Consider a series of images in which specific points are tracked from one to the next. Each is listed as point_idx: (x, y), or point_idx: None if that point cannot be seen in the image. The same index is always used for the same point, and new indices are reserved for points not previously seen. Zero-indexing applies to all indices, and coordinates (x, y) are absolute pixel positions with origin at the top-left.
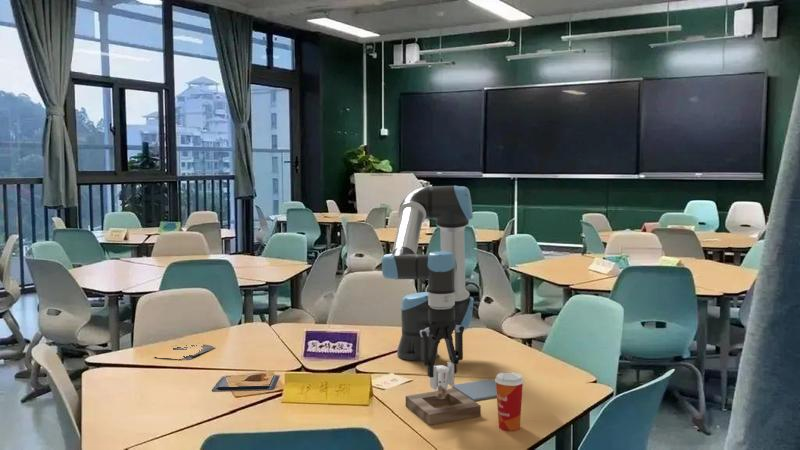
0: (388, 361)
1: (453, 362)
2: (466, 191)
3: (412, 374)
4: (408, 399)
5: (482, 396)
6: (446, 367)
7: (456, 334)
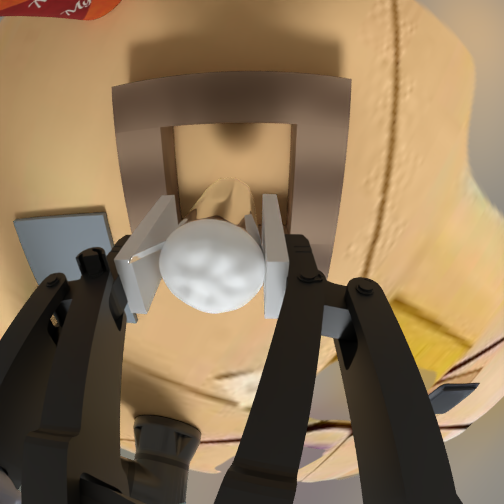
0: (223, 430)
1: (112, 277)
2: None
3: (204, 393)
4: (330, 256)
5: (76, 224)
6: (172, 265)
7: (9, 459)
